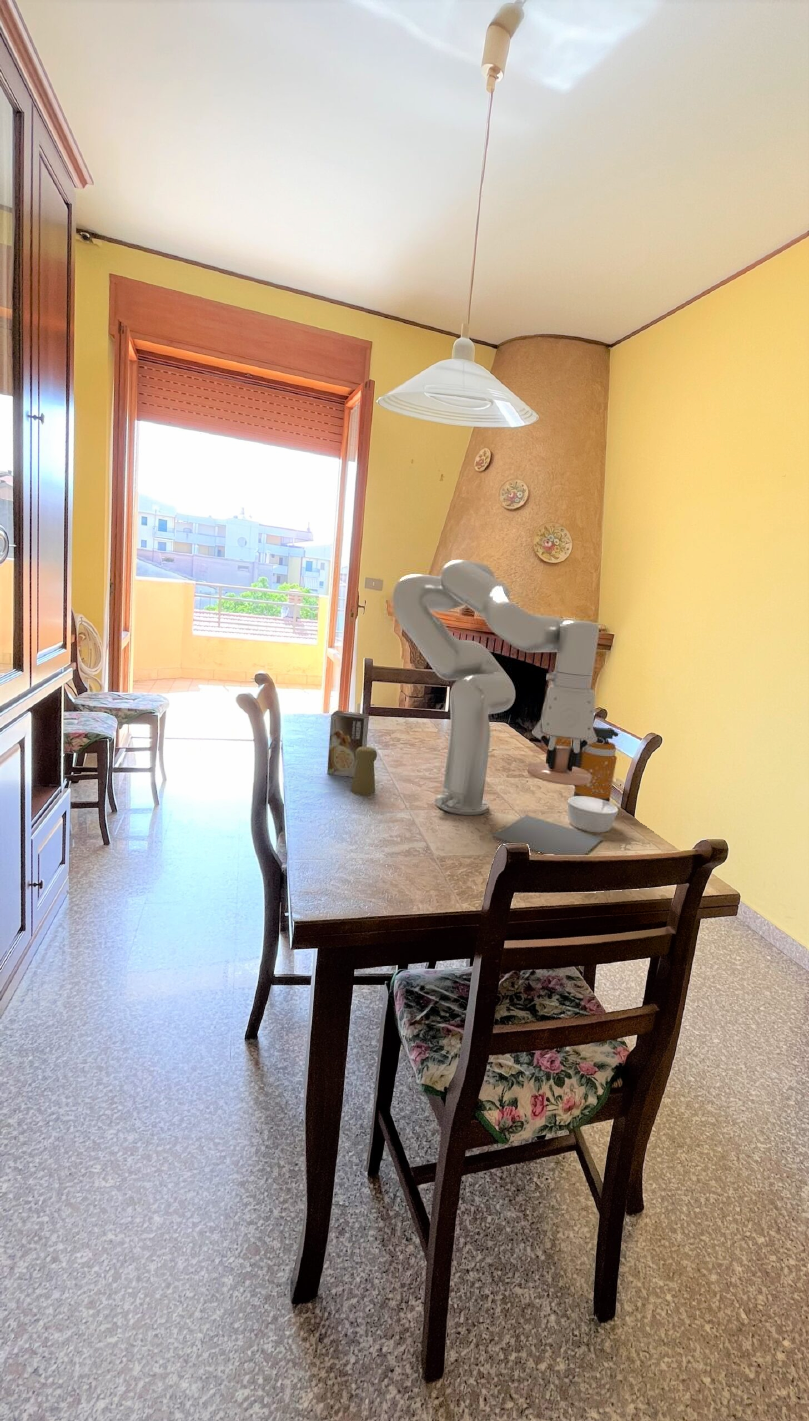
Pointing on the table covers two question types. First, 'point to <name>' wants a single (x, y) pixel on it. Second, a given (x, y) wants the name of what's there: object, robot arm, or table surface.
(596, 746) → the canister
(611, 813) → the ramekin
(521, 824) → the mat
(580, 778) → the lid
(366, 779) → the cork
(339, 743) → the coffee box
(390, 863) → the table surface
